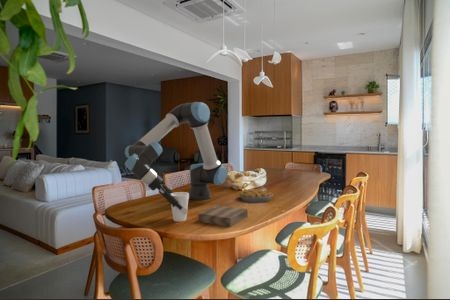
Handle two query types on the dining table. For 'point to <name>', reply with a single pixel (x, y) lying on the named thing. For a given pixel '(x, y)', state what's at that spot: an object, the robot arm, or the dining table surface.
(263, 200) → the pie
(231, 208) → the walnut riser
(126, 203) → the dining table surface
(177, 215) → the foam cup
